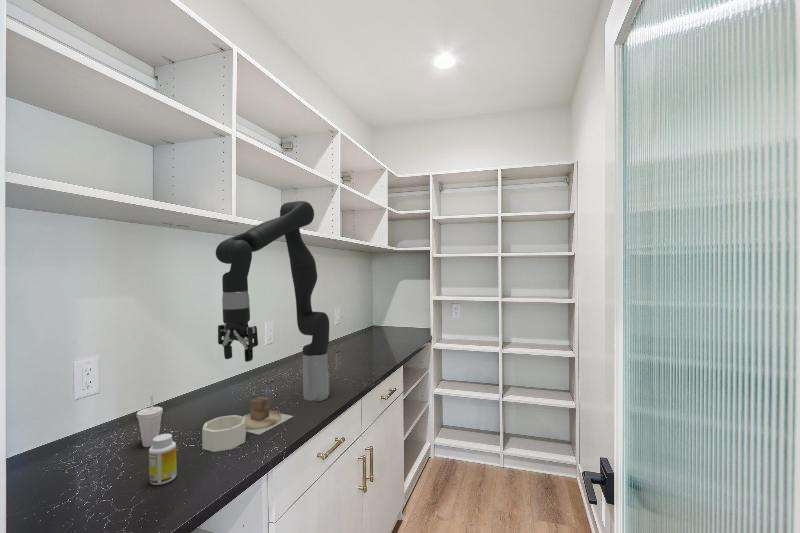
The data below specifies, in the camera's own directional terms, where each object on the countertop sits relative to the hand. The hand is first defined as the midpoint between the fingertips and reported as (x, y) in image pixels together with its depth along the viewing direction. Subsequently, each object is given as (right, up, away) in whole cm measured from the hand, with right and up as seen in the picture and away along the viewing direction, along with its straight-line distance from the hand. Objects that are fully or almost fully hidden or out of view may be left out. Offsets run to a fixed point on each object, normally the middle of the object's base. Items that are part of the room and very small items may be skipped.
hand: (238, 359), depth 114 cm
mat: (+3, -23, +9) cm, 25 cm away
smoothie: (-23, -23, -5) cm, 33 cm away
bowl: (-1, -23, -6) cm, 24 cm away
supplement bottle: (-8, -23, -23) cm, 34 cm away
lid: (+3, -22, +9) cm, 24 cm away
